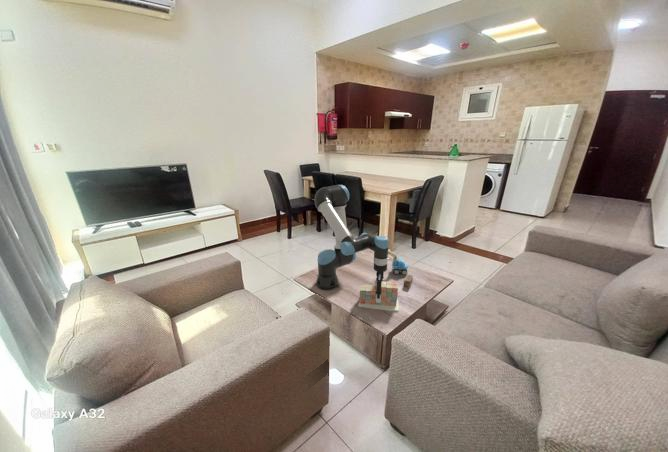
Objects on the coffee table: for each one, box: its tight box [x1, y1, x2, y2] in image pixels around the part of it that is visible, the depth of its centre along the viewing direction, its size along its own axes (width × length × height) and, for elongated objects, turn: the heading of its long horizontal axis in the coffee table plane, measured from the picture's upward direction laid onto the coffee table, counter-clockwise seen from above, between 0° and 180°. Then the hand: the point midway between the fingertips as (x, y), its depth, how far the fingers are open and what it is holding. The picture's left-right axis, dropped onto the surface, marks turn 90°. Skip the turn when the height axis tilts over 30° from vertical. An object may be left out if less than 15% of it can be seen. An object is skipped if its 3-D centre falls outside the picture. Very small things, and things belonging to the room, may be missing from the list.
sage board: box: [357, 298, 399, 312], centre depth 152 cm, size 23×10×1 cm, turn 77°
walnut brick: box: [403, 273, 414, 289], centre depth 170 cm, size 4×8×5 cm, turn 152°
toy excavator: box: [388, 248, 409, 276], centre depth 183 cm, size 9×17×17 cm, turn 80°
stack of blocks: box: [359, 280, 399, 306], centre depth 151 cm, size 21×6×12 cm, turn 83°
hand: (378, 295), depth 150 cm, fingers open, 13 cm apart
